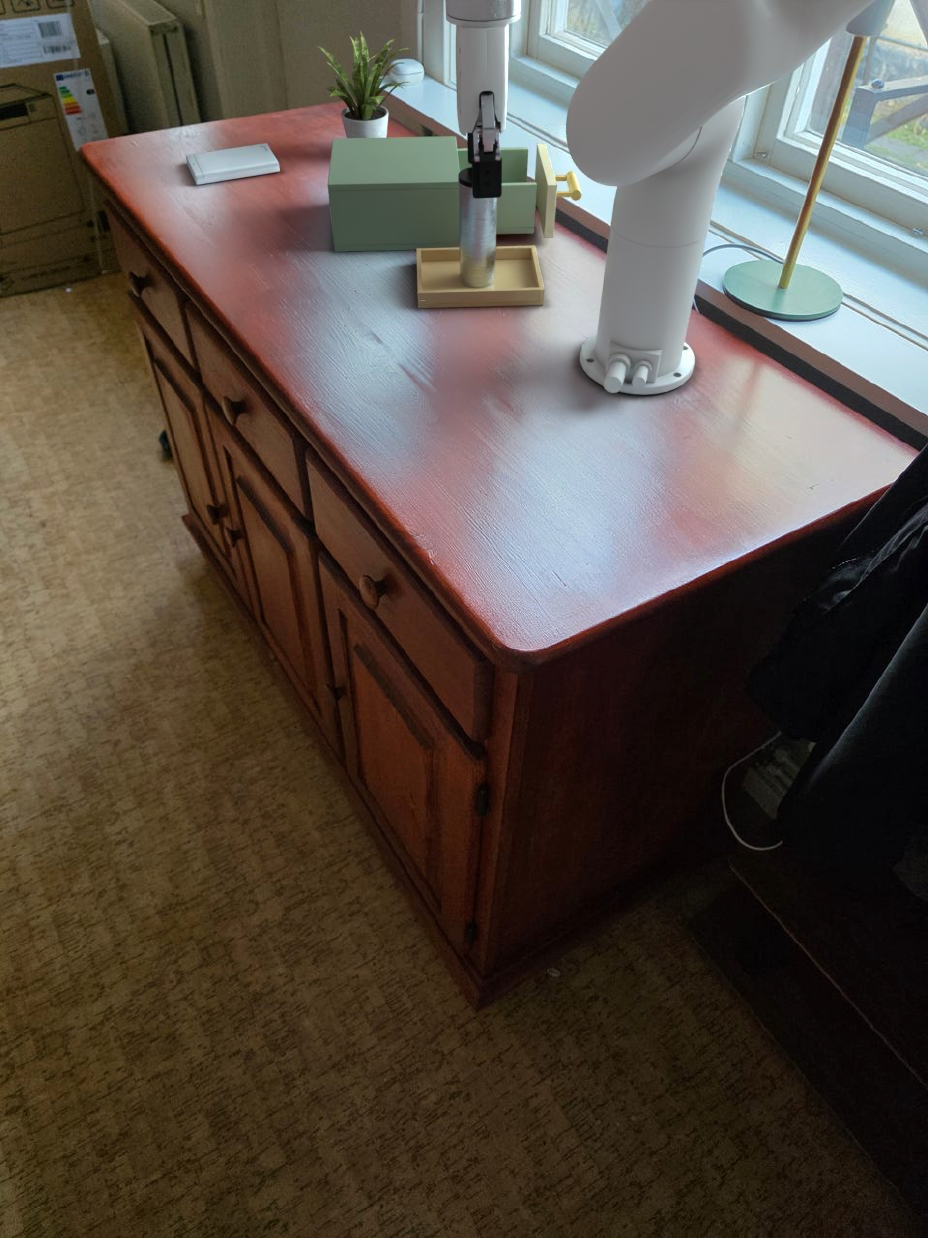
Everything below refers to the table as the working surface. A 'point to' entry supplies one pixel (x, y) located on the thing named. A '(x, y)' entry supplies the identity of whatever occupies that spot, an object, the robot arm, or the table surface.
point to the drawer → (527, 190)
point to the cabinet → (394, 193)
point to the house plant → (364, 92)
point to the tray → (510, 288)
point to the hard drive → (232, 163)
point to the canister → (476, 235)
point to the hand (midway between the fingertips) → (484, 179)
